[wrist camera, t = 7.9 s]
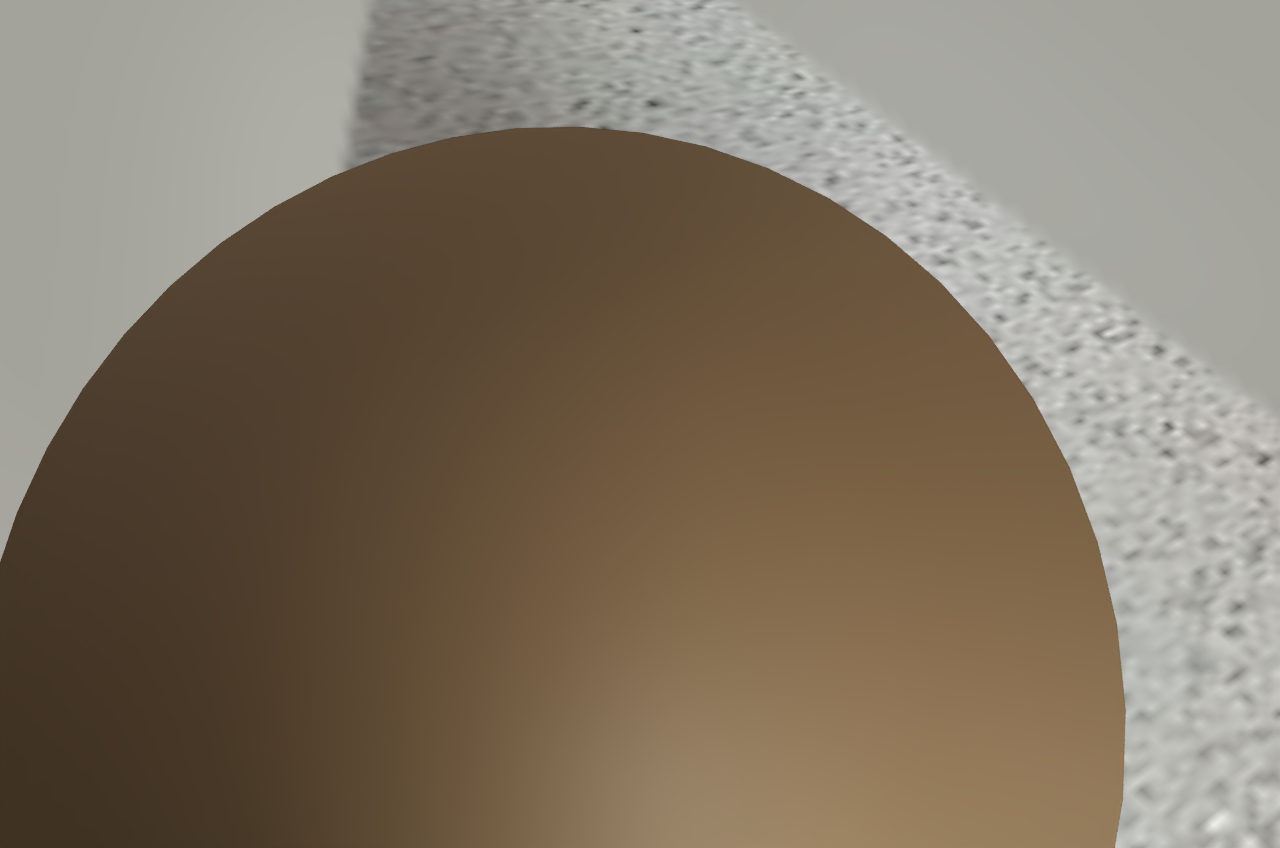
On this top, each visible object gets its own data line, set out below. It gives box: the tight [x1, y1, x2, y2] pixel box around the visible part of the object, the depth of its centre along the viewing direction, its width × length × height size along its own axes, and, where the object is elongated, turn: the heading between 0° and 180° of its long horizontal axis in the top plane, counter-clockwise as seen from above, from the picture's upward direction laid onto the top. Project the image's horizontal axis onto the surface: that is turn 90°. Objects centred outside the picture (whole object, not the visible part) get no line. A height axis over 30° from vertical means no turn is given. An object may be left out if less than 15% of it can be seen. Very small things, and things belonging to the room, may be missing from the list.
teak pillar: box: [0, 127, 1126, 848], centre depth 9 cm, size 4×4×12 cm
